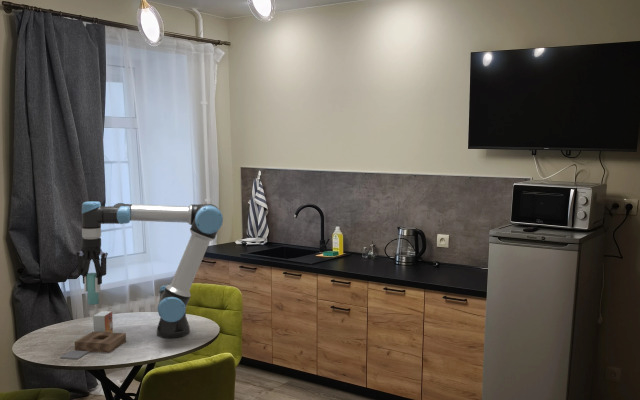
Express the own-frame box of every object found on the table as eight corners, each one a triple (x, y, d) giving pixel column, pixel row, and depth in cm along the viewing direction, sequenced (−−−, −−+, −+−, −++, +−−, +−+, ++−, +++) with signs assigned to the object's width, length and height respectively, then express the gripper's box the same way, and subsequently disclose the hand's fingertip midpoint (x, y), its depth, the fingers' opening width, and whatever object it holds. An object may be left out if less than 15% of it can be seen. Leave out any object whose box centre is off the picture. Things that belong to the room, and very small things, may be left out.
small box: (105, 338, 256) (104, 315, 255) (93, 338, 257) (92, 315, 256) (113, 332, 264) (112, 311, 263) (101, 332, 265) (101, 310, 264)
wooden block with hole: (126, 341, 251) (125, 333, 251) (109, 352, 238) (109, 343, 237) (93, 340, 254) (92, 331, 253) (75, 350, 240) (74, 341, 240)
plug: (100, 302, 244) (99, 272, 242) (95, 305, 239) (94, 275, 238) (91, 301, 244) (90, 272, 243) (85, 304, 240) (84, 274, 239)
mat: (88, 352, 238) (88, 351, 238) (78, 359, 230) (77, 358, 230) (71, 351, 239) (71, 350, 239) (60, 358, 231) (60, 356, 231)
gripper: (115, 237, 241) (115, 290, 243) (78, 235, 244) (79, 288, 246) (105, 239, 234) (106, 294, 236) (67, 238, 237) (68, 292, 239)
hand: (92, 291), depth 241 cm, fingers closed on plug, 4 cm apart
